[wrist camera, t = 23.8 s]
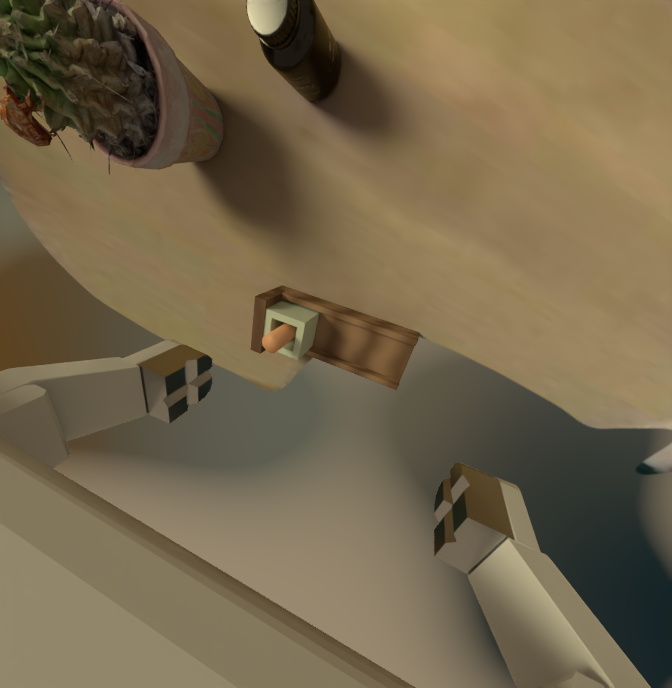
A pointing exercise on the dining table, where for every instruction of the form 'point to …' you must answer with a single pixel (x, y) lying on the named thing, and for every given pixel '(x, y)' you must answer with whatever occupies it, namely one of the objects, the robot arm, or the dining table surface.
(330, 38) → the supplement bottle
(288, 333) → the dowel
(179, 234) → the dining table surface
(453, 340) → the dining table surface
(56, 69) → the potted plant
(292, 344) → the socket block
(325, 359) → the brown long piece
